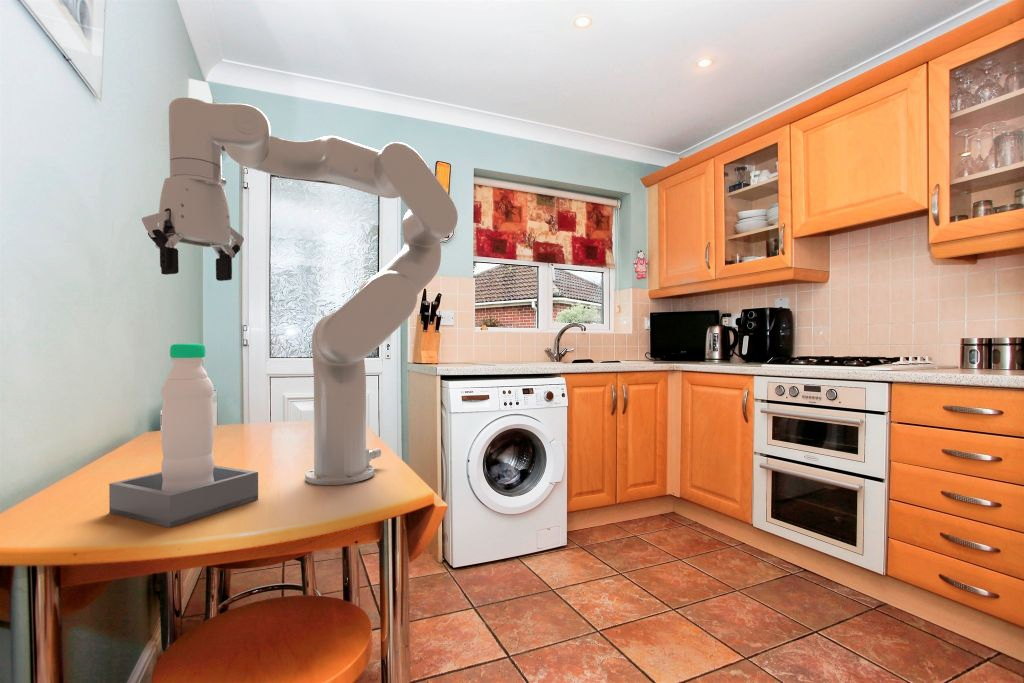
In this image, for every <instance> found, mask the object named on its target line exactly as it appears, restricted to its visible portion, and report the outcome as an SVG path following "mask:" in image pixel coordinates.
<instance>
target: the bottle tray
mask: <svg viewBox="0 0 1024 683" xmlns="http://www.w3.org/2000/svg"><path fill="white" fill-rule="evenodd" d="M213 478H214V482H212V483H208V484H205V485H201V486H197V487H193V488H189V489H186V490H182V491H178V492H174V493H171V492H166V491H162V483H163V477H162V471H159V472H154V473H150V474H146V475H145V474H144V475H142V476H138V477H132V478H128V479H124V480H123V479H122V480H119V481H115V482H110V483H109V482H108V483H109V485H108V486H109V490H108V492H109V495H108V497H109V501H108V502H109V507H108V508H109V511H108V512H109V514H113V515H116V516H120V517H126V518H128V519H132V520H133V519H134V520H137V521H142V522H145V523H150V524H152V525H157V526H161V527H165V528H168V529H170V528H174V527H178V526H179V525H183V524H187V523H189V522H192V521H195V520H198V519H202V518H205V517H208V516H212V515H215V514H216V513H220V512H223V511H227V510H229V509H233V508H236V507H238V506H242V505H244V504H249V503H251V502H253V501H257V500H259V471H255V470H248V469H241V468H234V467H227V466H221V465H215V464H214V469H213Z"/></svg>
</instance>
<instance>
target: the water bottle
mask: <svg viewBox="0 0 1024 683" xmlns="http://www.w3.org/2000/svg"><path fill="white" fill-rule="evenodd" d="M169 356H170V358H171V359H170V360H171V362H172V363H173V365H172V368H171V370H170V371H169V372H168V375H167V379H165V381H164V383H163V384H162V387H161V389H160V393H161V398H162V403H161V404H162V405H161V420H160V421H161V422H160V424H161V430H160V431H161V433H160V434H161V435H160V436H161V450H162V461H161V472H162V477H163V483H162V491H166V492H171V493H174V492H178V491H182V490H186V489H189V488H193V487H197V486H201V485H205V484H208V483H212V482H214V478H213V469H214V465H215V457H214V453H213V450H214V441H215V440H214V436H215V435H214V434H215V414H214V413H215V412H214V401H213V400H214V399H213V396H214V392H215V388H214V384H213V382H212V380H211V379H210V377H209V376H208V373H207V371H206V369H205V368H204V366H203V362H204V361H205V357H206V346H205V345H204V344H202V343H197V342H196V343H193V342H191V343H185V342H184V343H174V344H171V346H170V348H169Z"/></svg>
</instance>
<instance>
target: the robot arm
mask: <svg viewBox="0 0 1024 683" xmlns="http://www.w3.org/2000/svg"><path fill="white" fill-rule="evenodd" d="M269 121H270V120H268V118H267V116H266V115H265V113H263V111H261V110H260V109H259V108H257V107H255V106H253V105H250V104H244V103H235V102H234V103H230V102H229V103H225V102H224V103H223V102H222V103H220V102H219V103H218V102H217V103H216V102H206V101H204V100H201V99H198V98H194V97H193V98H192V97H178V98H175V99H173V100H172V101H171V102H170V103H169V105H168V143H169V144H168V145H169V148H168V149H169V177H166V178H165V179H164V181H163V184H162V188H161V193H160V199H159V210H158V212H157V213H153V214H150V215H147V216H142V218H141V222H142V224H143V226H144V228H145V229H146V231H147V235H148V237H149V238H150V240H151V241H152V242H154V244H155V248H156V249H158V250H159V266H160V273H161V275H166V276H168V275H176V274H178V273H179V271H180V270H179V268H180V267H179V250H178V248H176V247H175V246H177V244H178V243H181V244H186V245H192V246H197V247H204V248H212V250H213V251H214V252H215V253H216V255H217V256H218V257H217V258H216V259H215V279H216V280H217V281H220V282H223V281H231V280H232V279H233V259H234V258H235V257H236V255H237V254H238V253H239V252H240V251H241V247H242V245H243V243H244V240H245V238H244V236H243V235H241V234H240V233H239V232H238V231H236V230H235V229H234V228H233V227H231V218H230V209H229V204H228V199H227V195H226V193H227V192H226V190H225V189H224V188H223V187H225V186H227V179H225V178H223V168H222V166H223V162H222V158H223V157H222V148H223V147H224V150H225V152H226V154H227V155H228V156H229V157H230V158H231V159H232V160H233V161H234V162H236V163H238V164H239V165H241V166H243V167H247V168H248V169H252V170H256V171H259V172H262V173H266V174H268V175H269V174H270V175H273V176H277V177H282V178H287V179H297V180H305V181H306V180H307V181H316V182H317V181H320V182H321V181H323V182H327V183H332V184H335V185H339V186H341V187H342V186H343V187H345V188H346V187H347V188H350V189H353V190H357V191H359V192H360V191H361V192H364V193H368V194H371V195H374V196H378V197H381V198H385V199H398V198H400V199H401V200H402V202H404V204H405V205H406V207H407V209H408V210H407V212H405V214H404V216H403V219H402V223H401V230H402V236H403V245H402V249H401V251H400V252H399V253H398V254H396V255H395V257H394V258H392V260H391V261H389V263H388V264H386V265H385V266H384V267H383V268H382V269H380V270H379V271H378V272H377V273H376V274H375V275H373V276H371V277H369V278H368V279H367V280H366V281H364V283H363V284H362V285H361V286H360V288H359V289H358V291H357V293H355V294H354V295H353V296H352V297H351V298H350V299H349V300H347V301H346V302H344V304H343V305H342V306H341V307H339V308H338V309H337V310H336V311H335V312H332V313H329V314H327V315H325V316H324V317H322V318H321V319H319V321H318V322H317V323H316V325H315V327H314V328H313V332H312V336H311V354H312V368H313V370H312V371H313V465H314V466H313V468H312V469H309V470H307V471H306V472H305V474H304V476H305V477H304V479H305V481H306V482H307V483H308V484H313V485H319V486H339V485H340V486H341V485H347V484H348V485H349V484H355V483H358V482H362V481H365V480H368V479H370V478H372V477H374V475H375V467H374V466H373V465H370V462H371V461H372V460H374V459H375V460H376V459H378V458H380V457H381V456H382V451H381V449H380V448H379V447H377V448H373V449H370V448H367V406H366V405H367V377H366V364H365V359H366V358H367V357H369V356H370V355H371V354H372V353H373V352H374V351H376V350H377V348H379V347H380V346H381V345H382V344H383V343H384V342H385V341H386V340H387V339H388V338H389V337H391V335H392V334H393V333H394V332H395V331H396V330H398V328H400V327H401V326H402V325H403V324H404V323H405V322H406V320H408V319H409V317H410V316H412V314H413V312H414V311H415V308H416V306H417V304H418V303H417V302H418V295H419V294H420V293H421V292H422V291H423V290H424V288H426V287H427V285H428V284H430V283H431V282H432V280H433V279H434V278H435V276H436V275H437V273H438V272H439V269H440V266H441V261H442V260H441V258H442V247H441V240H442V239H445V238H446V237H449V235H451V234H452V233H453V232H454V230H455V229H456V227H457V225H458V221H459V220H458V219H459V218H458V216H459V215H458V210H457V208H456V205H455V203H454V201H453V199H452V198H451V197H450V195H449V194H448V191H447V190H446V189H445V188H444V186H443V185H442V184H441V182H440V180H439V179H438V178H437V177H436V175H435V173H434V172H433V171H432V169H431V168H430V167H429V165H428V164H427V162H426V161H425V160H424V159H423V157H422V156H421V155H420V154H419V152H417V150H415V149H414V148H413V147H412V146H410V145H408V144H406V143H404V142H399V141H394V142H390V143H387V144H386V145H385V146H383V148H382V149H381V150H379V149H375V148H372V147H370V146H366V145H363V144H361V143H356V142H354V141H350V140H347V139H345V138H342V137H339V136H336V135H335V136H334V135H327V136H322V137H319V138H316V139H312V140H307V141H306V140H305V141H299V140H298V141H295V140H288V139H285V138H281V137H277V136H275V135H271V125H270V122H269ZM230 241H231V242H230Z"/></svg>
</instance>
